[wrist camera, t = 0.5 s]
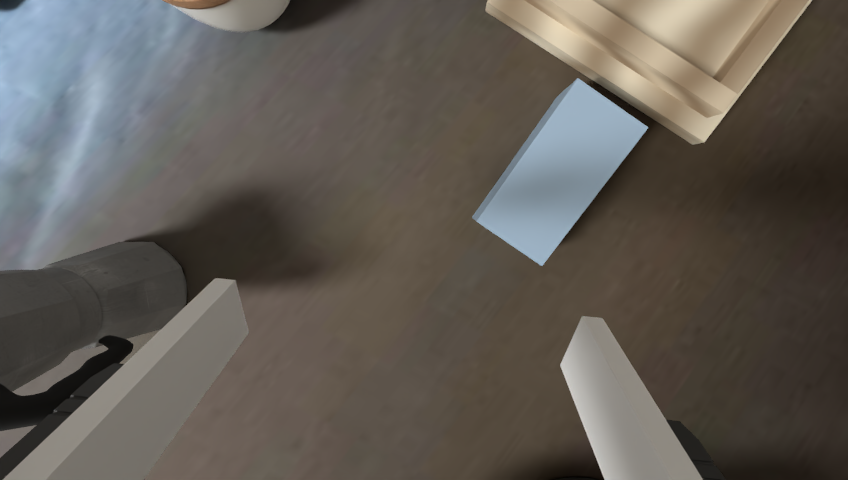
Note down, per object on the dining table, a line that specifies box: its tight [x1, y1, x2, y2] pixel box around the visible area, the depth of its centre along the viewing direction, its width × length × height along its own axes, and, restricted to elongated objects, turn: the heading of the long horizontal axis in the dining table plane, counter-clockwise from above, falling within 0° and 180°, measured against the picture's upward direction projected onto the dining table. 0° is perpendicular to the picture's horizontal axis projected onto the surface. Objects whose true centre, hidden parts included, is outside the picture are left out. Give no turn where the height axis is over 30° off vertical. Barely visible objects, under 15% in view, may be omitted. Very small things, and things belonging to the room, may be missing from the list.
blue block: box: [472, 78, 648, 266], centre depth 25 cm, size 12×6×4 cm, turn 146°
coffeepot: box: [0, 242, 187, 431], centre depth 22 cm, size 15×9×18 cm, turn 69°
